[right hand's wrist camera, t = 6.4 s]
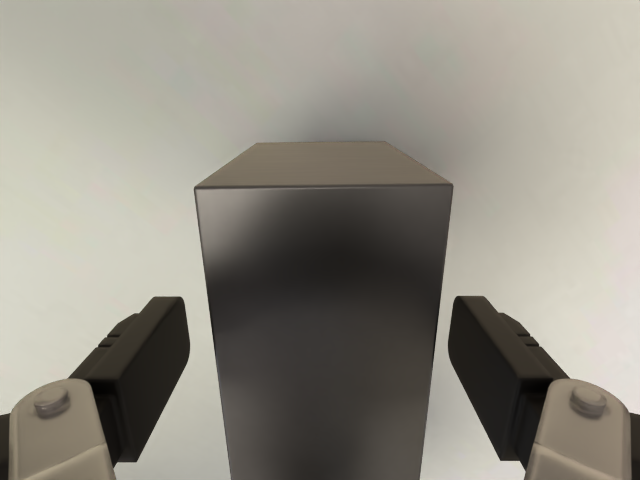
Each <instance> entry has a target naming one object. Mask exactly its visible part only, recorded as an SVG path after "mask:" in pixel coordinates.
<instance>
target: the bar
mask: <svg viewBox="0 0 640 480" xmlns="http://www.w3.org/2000/svg"><path fill="white" fill-rule="evenodd" d="M194 195H195V203H196V211H197V218H198V226H199V234H200V242H201V249H202V257H203V265H204V272H205V280H206V288H207V296H208V303H209V311H210V319H211V327H212V334H213V342H214V350H215V357H216V365H217V373H218V381H219V388H220V396H221V404H222V412H223V419H224V427H225V435H226V443H227V450H228V458H229V466H230V473H231V480H420V472H421V463H422V454H423V446H424V437H425V429H426V420H427V411H428V403H429V394H430V385H431V377H432V368H433V359H434V351H435V342H436V333H437V325H438V316H439V307H440V299H441V290H442V281H443V273H444V264H445V255H446V247H447V238H448V229H449V221H450V212H451V204H452V195H453V184H452V183H450V182H449V181H447V180H446V179H444V178H442V177H441V176H439V175H438V174H436V173H434V172H433V171H431V170H430V169H428V168H427V167H425V166H423V165H422V164H420V163H419V162H417V161H415V160H414V159H412V158H411V157H409V156H407V155H406V154H404V153H403V152H401V151H399V150H398V149H396V148H395V147H393V146H392V145H390V144H388V143H387V142H385V141H368V142H274V143H256V144H254V145H253V146H252V147H250V148H249V149H247V150H246V151H245V152H243V153H242V154H240V155H239V156H237V157H236V158H235V159H233V160H232V161H230V162H229V163H227V164H226V165H225V166H223V167H222V168H220V169H219V170H218V171H216V172H215V173H213V174H212V175H210V176H209V177H208V178H206V179H205V180H203V181H202V182H201V183H199V184H198V185H196V186H195V187H194Z"/></svg>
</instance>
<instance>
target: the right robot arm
mask: <svg viewBox="0 0 640 480" xmlns="http://www.w3.org/2000/svg"><path fill="white" fill-rule="evenodd" d="M448 352H449V358H450V361H451V363H452V366H453V368H454V370H455V372H456V373H457V375H458V377H459V379H460V381H461V383H462V385H463V387H464V389H465V391H466V393H467V395H468V397H469V399H470V401H471V403H472V405H473V407H474V409H475V411H476V413H477V415H478V417H479V419H480V421H481V423H482V425H483V427H484V429H485V431H486V433H487V435H488V437H489V439H490V441H491V443H492V445H493V447H494V449H495V451H496V453H497V455H498V457H499V459H500V461H520V462H521V464H522V466H523V467H524V469H525V471H526V473H525V477H524V480H640V415H638V414H634V413H629V412H628V409H627V408H626V407H625V405H624V404H623V403H622V402H621V401H620V400H619V399H618V398H616V397H615V396H614V395H612V394H611V393H609V392H608V391H606V390H604V389H602V388H600V387H598V386H596V385H594V384H591V383H588V382H585V381H581V380H577V379H570V378H569V377H568V376H567V374H566V373H565V372H564V371H563V370H562V369H561V368H560V367H559V366H558V365H557V363H556V362H555V361H554V360H553V359H552V358H551V357H550V356H549V355H548V354H547V352H546V351H545V350H544V349H543V348H542V347H539V344H538V342H537V341H536V340H535V339H534V338H533V337H530V334H529V333H528V331H527V330H526V329H525V328H524V327H523V326H522V325H521V324H520V323H519V322H518V321H516V320H514V319H513V318H511V317H509V316H508V315H506V314H504V313H498V312H497V311H496V309H495V308H494V307H493V306H492V305H491V304H490V302H489V301H488V300H487V299H486V298H485V297H484V296H457V297H456V298H455V300H454V303H453V310H452V317H451V324H450V331H449V339H448ZM189 353H190V339H189V332H188V325H187V318H186V311H185V304H184V300H183V299H182V297H153V298H152V299H151V300H150V301H149V303H148V304H147V305H146V306H145V307H144V308H143V310H142V311H141V312H140V313H134V314H133V315H131V316H129V317H128V318H126V319H124V320H123V321H121V322H120V323H118V324H117V325H116V326H115V327H114V328H113V329H112V331H111V332H110V333H109V334H108V335H107V338H104V339H103V340H102V341H101V343H100V344H99V345H98V348H95V349H94V350H93V351H92V352H91V353H90V355H89V356H88V357H87V358H86V359H85V360H84V361H83V362H82V363H81V364H80V365H79V367H78V368H77V369H76V370H75V371H74V372H73V373H72V374H71V375H70V376H69V377H68V379H63V380H59V381H55V382H52V383H49V384H46V385H44V386H42V387H40V388H38V389H36V390H34V391H32V392H31V393H29V394H28V395H26V396H25V397H24V398H22V399H21V400H20V401H19V402H18V403H17V404H16V405H15V407H14V408H13V409H12V412H11V413H9V414H4V415H0V480H116V477H115V473H114V470H113V468H114V467H115V465H116V463H117V462H137V460H138V458H139V456H140V454H141V453H142V451H143V449H144V447H145V445H146V443H147V441H148V439H149V437H150V435H151V433H152V431H153V429H154V427H155V425H156V423H157V421H158V419H159V417H160V415H161V413H162V411H163V409H164V407H165V405H166V404H167V402H168V400H169V398H170V396H171V394H172V392H173V390H174V388H175V386H176V384H177V382H178V380H179V378H180V376H181V374H182V372H183V370H184V368H185V366H186V364H187V362H188V358H189Z"/></svg>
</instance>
